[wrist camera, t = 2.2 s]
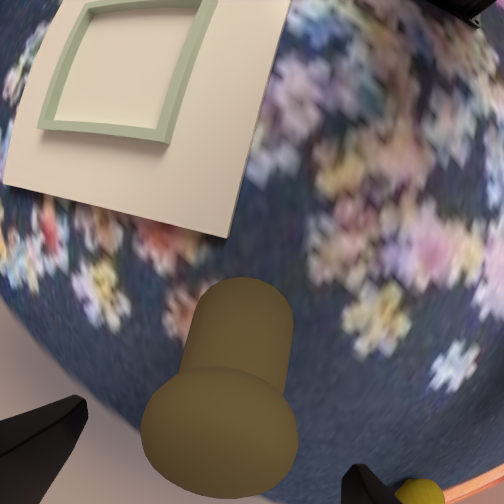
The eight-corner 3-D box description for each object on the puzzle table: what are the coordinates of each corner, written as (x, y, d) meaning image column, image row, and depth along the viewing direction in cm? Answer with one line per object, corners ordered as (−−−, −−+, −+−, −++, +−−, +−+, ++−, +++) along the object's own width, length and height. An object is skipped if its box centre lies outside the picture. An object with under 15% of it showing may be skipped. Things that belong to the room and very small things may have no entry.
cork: (235, 381, 18) (206, 525, 7) (174, 313, 17) (80, 436, 7) (313, 334, 17) (351, 484, 6) (253, 255, 16) (221, 365, 6)
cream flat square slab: (298, -21, 13) (300, -38, 11) (229, 235, 16) (223, 241, 14) (81, -15, 13) (70, -25, 11) (11, 183, 17) (-7, 183, 15)
